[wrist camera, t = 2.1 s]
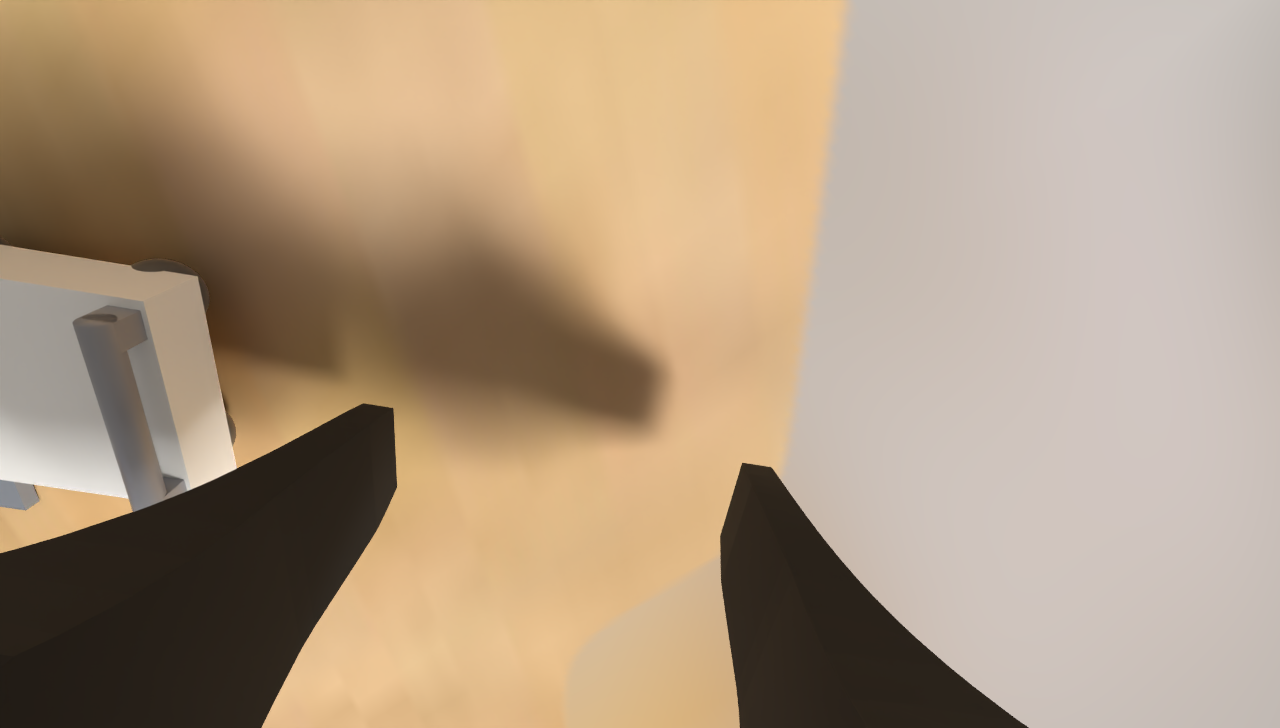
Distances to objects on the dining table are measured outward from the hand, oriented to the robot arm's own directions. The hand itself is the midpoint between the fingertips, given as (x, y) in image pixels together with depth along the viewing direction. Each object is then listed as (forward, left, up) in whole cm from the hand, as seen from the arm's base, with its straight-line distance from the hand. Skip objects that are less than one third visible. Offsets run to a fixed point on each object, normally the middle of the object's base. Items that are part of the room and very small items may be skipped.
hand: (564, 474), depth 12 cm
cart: (0, +11, -3) cm, 11 cm away
